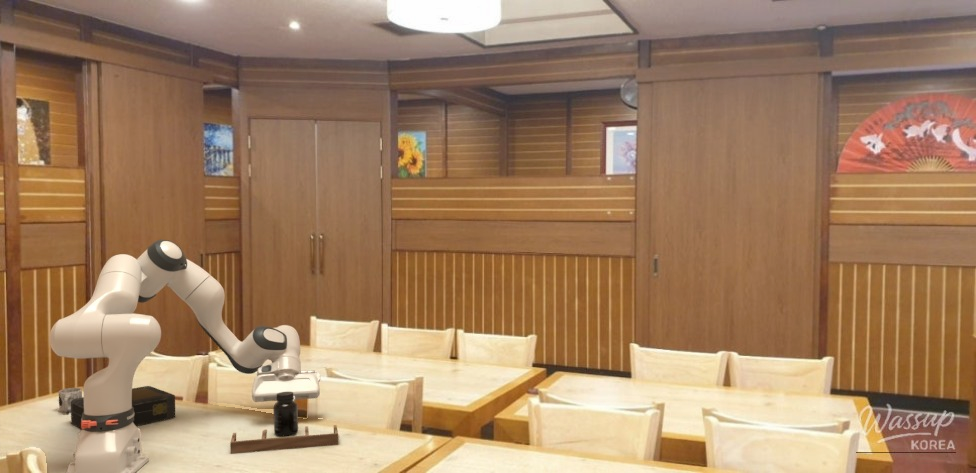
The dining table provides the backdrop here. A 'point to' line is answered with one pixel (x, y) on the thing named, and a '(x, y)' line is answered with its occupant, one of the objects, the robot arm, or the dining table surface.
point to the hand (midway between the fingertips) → (286, 411)
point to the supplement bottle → (285, 415)
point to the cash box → (138, 406)
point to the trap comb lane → (283, 442)
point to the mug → (68, 398)
